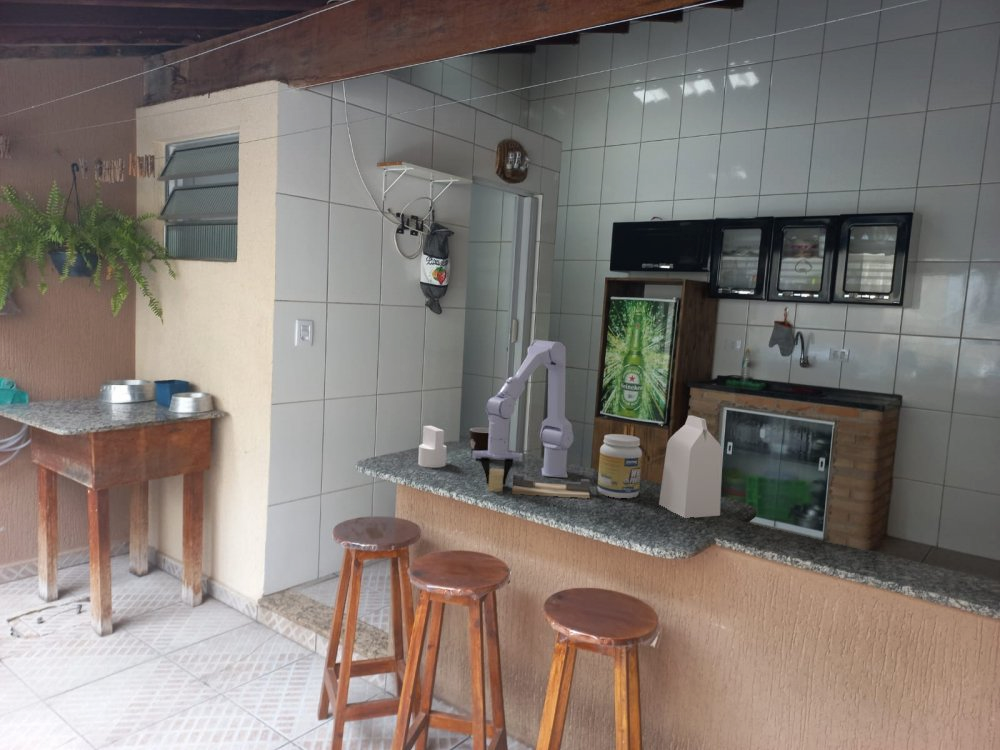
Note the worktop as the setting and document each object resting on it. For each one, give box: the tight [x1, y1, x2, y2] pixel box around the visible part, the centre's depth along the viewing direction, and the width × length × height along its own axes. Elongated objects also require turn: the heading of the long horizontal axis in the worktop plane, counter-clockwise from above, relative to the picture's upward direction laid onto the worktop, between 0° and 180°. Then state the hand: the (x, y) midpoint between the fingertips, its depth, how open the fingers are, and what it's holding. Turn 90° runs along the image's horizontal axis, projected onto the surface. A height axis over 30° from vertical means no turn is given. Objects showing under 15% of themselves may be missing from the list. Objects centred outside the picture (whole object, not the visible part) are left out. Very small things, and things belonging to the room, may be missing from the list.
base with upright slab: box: [418, 425, 448, 469], centre depth 227 cm, size 9×9×12 cm
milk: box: [658, 415, 723, 519], centre depth 190 cm, size 12×12×26 cm
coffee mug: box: [469, 427, 489, 461], centre depth 237 cm, size 12×9×10 cm
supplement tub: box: [597, 433, 643, 499], centre depth 203 cm, size 12×12×17 cm
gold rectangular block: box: [488, 468, 504, 492], centre depth 203 cm, size 4×7×5 cm, turn 178°
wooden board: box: [512, 482, 591, 499], centre depth 203 cm, size 10×22×1 cm, turn 88°
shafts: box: [512, 473, 591, 493], centre depth 204 cm, size 4×22×3 cm, turn 88°
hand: (495, 483), depth 203 cm, fingers closed on gold rectangular block, 4 cm apart
